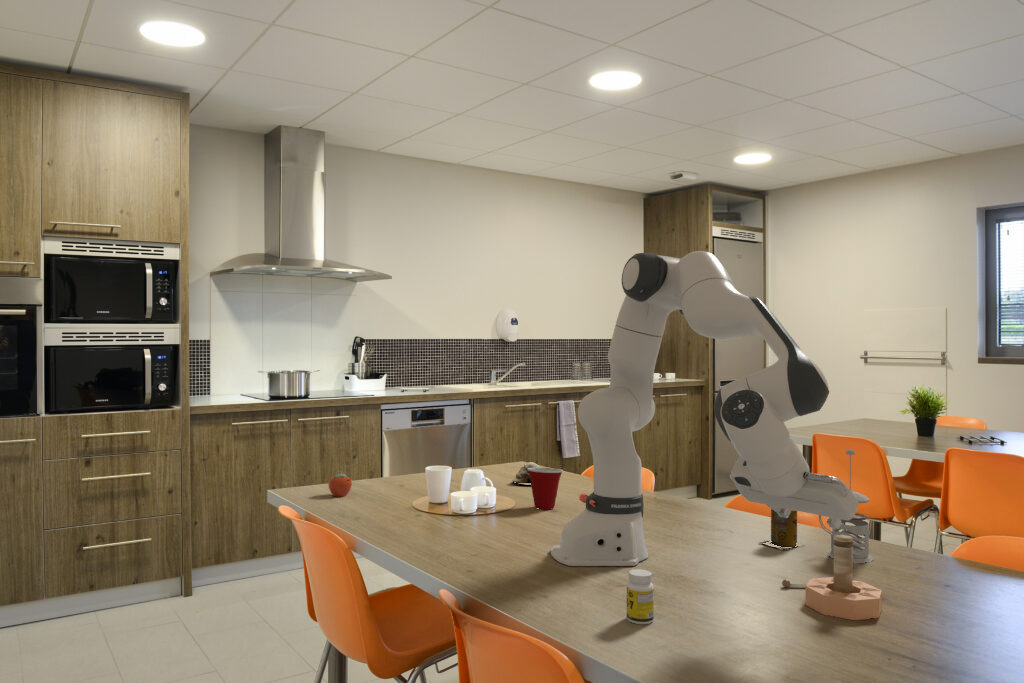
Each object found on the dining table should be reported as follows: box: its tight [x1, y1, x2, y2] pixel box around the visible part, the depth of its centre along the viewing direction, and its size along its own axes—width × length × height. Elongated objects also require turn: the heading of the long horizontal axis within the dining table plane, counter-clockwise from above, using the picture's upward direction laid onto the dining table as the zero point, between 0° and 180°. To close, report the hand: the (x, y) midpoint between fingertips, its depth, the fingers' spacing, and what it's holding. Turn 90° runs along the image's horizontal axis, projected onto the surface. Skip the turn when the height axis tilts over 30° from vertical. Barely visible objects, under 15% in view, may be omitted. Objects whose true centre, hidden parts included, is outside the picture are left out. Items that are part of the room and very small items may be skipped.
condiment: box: [757, 508, 798, 551], centre depth 178 cm, size 7×8×12 cm
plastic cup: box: [527, 466, 564, 510], centre depth 217 cm, size 11×11×12 cm
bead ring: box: [804, 576, 883, 621], centre depth 135 cm, size 12×12×4 cm
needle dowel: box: [833, 535, 854, 594], centre depth 135 cm, size 3×3×13 cm
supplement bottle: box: [626, 568, 655, 625], centre depth 128 cm, size 5×5×8 cm
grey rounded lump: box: [512, 461, 541, 483], centre depth 257 cm, size 12×10×10 cm
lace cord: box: [781, 578, 807, 589], centre depth 146 cm, size 18×2×2 cm, turn 88°
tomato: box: [328, 470, 353, 498], centre depth 233 cm, size 7×7×8 cm
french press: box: [818, 448, 874, 564], centre depth 169 cm, size 10×12×25 cm
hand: (810, 519), depth 128 cm, fingers open, 8 cm apart
